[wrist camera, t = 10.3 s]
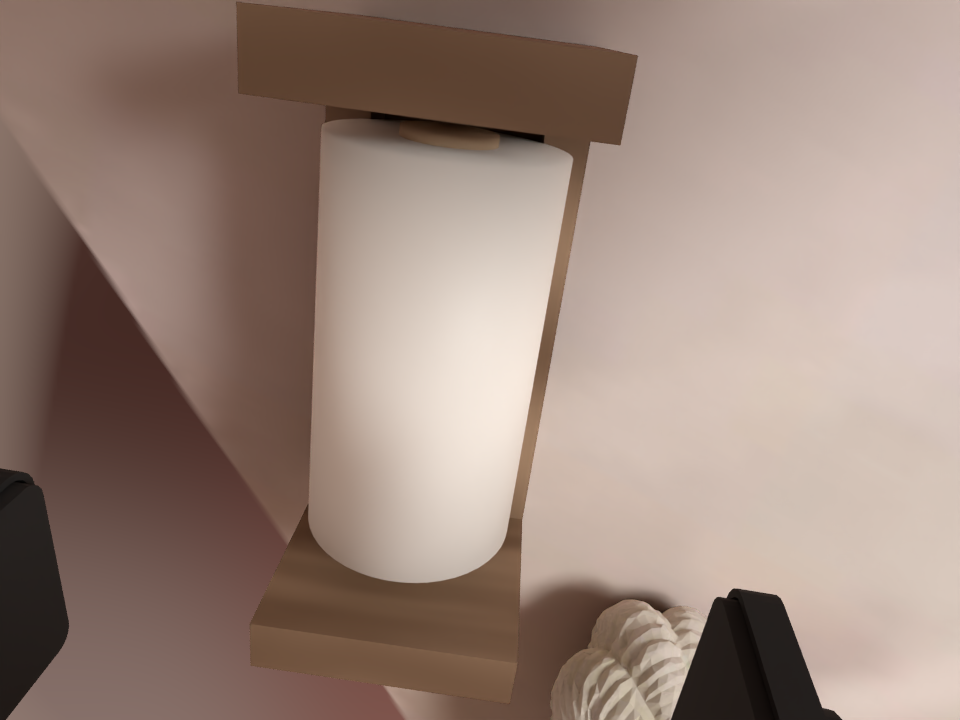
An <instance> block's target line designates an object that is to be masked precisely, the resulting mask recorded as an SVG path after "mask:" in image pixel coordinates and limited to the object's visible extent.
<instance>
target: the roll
mask: <svg viewBox="0 0 960 720" xmlns="http://www.w3.org/2000/svg"><path fill="white" fill-rule="evenodd" d="M572 163H573V157H572V156H571V155H570V154H569V153H567V152H565V151H563V150H561V149H559V148H556V147H553V146H550V145H547V144H543V143H541V142H537V141H533V140H529V139H525V138H521V137H517V136H512V135H507V134H502V133H497V132H492V131H488V130H484V129H480V128H475V127H470V126H465V125H458V124H451V123H443V122H432V121H406V120H391V119H342V120H334V121H330V122H326V123H324V124H323V125H322V126H321V150H320V179H319V209H318V239H317V268H316V298H315V328H314V358H313V387H312V417H311V447H310V476H309V506H308V521H309V526H310V530H311V532H312V534H313V537H314V538H315V540H316V541H317V543H318V544H319V545H320V547H321V548H322V549H323V550H324V551H325V552H326V553H327V554H328V555H330V556H331V557H332V558H333V559H335V560H336V561H338V562H339V563H341V564H342V565H344V566H346V567H348V568H350V569H352V570H354V571H356V572H359V573H362V574H364V575H367V576H370V577H374V578H378V579H382V580H387V581H394V582H403V583H428V582H436V581H443V580H447V579H451V578H456V577H459V576H461V575H464V574H467V573H469V572H471V571H473V570H475V569H477V568H479V567H481V566H482V565H483V564H485V563H486V562H488V561H489V560H490V559H491V558H492V557H493V556H494V555H495V554H496V553H497V552H498V550H499V549H500V548H501V546H502V544H503V542H504V540H505V537H506V533H507V529H508V523H509V517H510V512H511V506H512V500H513V495H514V489H515V484H516V478H517V472H518V467H519V461H520V456H521V450H522V444H523V439H524V433H525V427H526V422H527V416H528V411H529V405H530V399H531V394H532V388H533V383H534V377H535V371H536V366H537V360H538V354H539V349H540V343H541V338H542V332H543V326H544V321H545V315H546V310H547V304H548V298H549V293H550V287H551V281H552V276H553V270H554V265H555V259H556V253H557V248H558V242H559V237H560V231H561V225H562V220H563V214H564V208H565V203H566V197H567V192H568V186H569V180H570V175H571V169H572Z"/></svg>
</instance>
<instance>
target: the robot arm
mask: <svg viewBox="0 0 960 720" xmlns="http://www.w3.org/2000/svg"><path fill="white" fill-rule="evenodd" d="M68 629H69V621H68V616H67V611H66V606H65V601H64V596H63V591H62V586H61V581H60V576H59V571H58V565H57V560H56V555H55V550H54V546H53V540H52V535H51V531H50V525H49V520H48V515H47V510H46V506H45V500H44V495H43V492H42V489H41V488H40V487H39V486H36V485H35V484H34V481H33V479H32V477H31V476H30V475H29V474H27V473H24V472H19V471H12V470H6V469H0V720H6V719H7V717H8V716H9V715H10V714H11V712H12V711H13V710H14V709H15V707H16V706H17V705H18V703H19V702H20V701H21V700H22V698H23V697H24V696H25V694H26V693H27V692H28V690H29V689H30V688H31V687H32V686H33V684H34V683H35V682H36V680H37V679H38V678H39V676H40V675H41V674H42V673H43V671H44V670H45V669H46V668H47V666H48V665H49V664H50V663H51V661H52V660H53V659H54V657H55V656H56V655H57V654H58V652H59V651H60V649H61V648H62V646H63V644H64V642H65V640H66V637H67V634H68ZM671 720H842V719H841V718H840V717H839V716H838V715H837V714H836V713H835V712H834V711H832V710H829V709H824V708H822V706H821V704H820V701H819V698H818V695H817V693H816V690H815V687H814V685H813V682H812V679H811V677H810V674H809V671H808V669H807V666H806V663H805V660H804V658H803V655H802V652H801V650H800V647H799V644H798V642H797V639H796V636H795V634H794V631H793V628H792V626H791V623H790V620H789V617H788V615H787V612H786V609H785V607H784V604H783V602H782V600H781V598H779V597H778V596H777V595H773V594H766V593H760V592H754V591H748V590H742V589H732V590H731V591H730V592H729V594H728V596H727V598H722V597H717V598H716V599H715V600H714V602H713V604H712V607H711V610H710V613H709V615H708V618H707V621H706V624H705V626H704V629H703V632H702V635H701V638H700V640H699V643H698V646H697V649H696V651H695V654H694V657H693V660H692V662H691V665H690V668H689V671H688V673H687V676H686V679H685V682H684V685H683V687H682V690H681V693H680V696H679V698H678V701H677V704H676V707H675V709H674V712H673V715H672V718H671Z"/></svg>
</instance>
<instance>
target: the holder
mask: <svg viewBox="0 0 960 720" xmlns="http://www.w3.org/2000/svg"><path fill="white" fill-rule="evenodd" d="M236 6H237V52H238V93H239V94H246V95H253V96H261V97H268V98H275V99H283V100H290V101H298V102H305V103H312V104H320V105H326V120H325V123H326V122H330V121H334V120H342V119H391V120H406V121H432V122H443V123H451V124H458V125H465V126H470V127H475V128H480V129H484V130H488V131H492V132H497V133H502V134H507V135H512V136H517V137H521V138H525V139H529V140H533V141H537V142H541V143H543V144H547V145H550V146H553V147H556V148H559V149H561V150H563V151H565V152H567V153H569V154H570V155H571V156H572V157H573V163H572V169H571V175H570V180H569V186H568V192H567V197H566V203H565V208H564V214H563V220H562V225H561V231H560V237H559V242H558V248H557V253H556V259H555V265H554V270H553V276H552V281H551V287H550V293H549V298H548V304H547V310H546V315H545V321H544V326H543V332H542V338H541V343H540V349H539V354H538V360H537V366H536V371H535V377H534V383H533V388H532V394H531V399H530V405H529V411H528V416H527V422H526V427H525V433H524V439H523V444H522V450H521V456H520V461H519V467H518V472H517V478H516V484H515V489H514V495H513V500H512V506H511V512H510V517H509V523H508V529H507V533H506V537H505V540H504V542H503V544H502V546H501V548H500V549H499V550H498V552H497V553H496V554H495V555H494V556H493V557H492V558H491V559H490V560H489V561H488V562H486V563H485V564H483V565H482V566H481V567H479V568H477V569H475V570H473V571H471V572H469V573H467V574H464V575H461V576H459V577H456V578H451V579H447V580H443V581H436V582H428V583H403V582H394V581H387V580H382V579H378V578H374V577H370V576H367V575H364V574H362V573H359V572H356V571H354V570H352V569H350V568H348V567H346V566H344V565H342V564H341V563H339V562H338V561H336V560H335V559H333V558H332V557H331V556H330V555H328V554H327V553H326V552H325V551H324V550H323V549H322V548H321V547H320V545H319V544H318V543H317V541H316V540H315V538H314V537H313V534H312V532H311V530H310V526H309V521H308V506H309V503H308V505H307V508H306V510H305V512H304V514H303V516H302V518H301V520H300V522H299V524H298V526H297V528H296V530H295V532H294V534H293V536H292V538H291V540H290V542H289V544H288V547H287V549H286V551H285V553H284V555H283V557H282V559H281V561H280V563H279V565H278V567H277V569H276V571H275V573H274V575H273V578H272V579H271V581H270V583H269V586H268V588H267V590H266V592H265V594H264V596H263V598H262V600H261V602H260V604H259V606H258V608H257V610H256V612H255V614H254V616H253V619H252V620H251V623H250V657H251V658H250V659H251V666H257V667H264V668H270V669H277V670H284V671H290V672H297V673H304V674H311V675H318V676H324V677H331V678H337V679H344V680H352V681H358V682H365V683H372V684H378V685H385V686H391V687H398V688H405V689H411V690H418V691H425V692H432V693H438V694H445V695H452V696H459V697H465V698H472V699H479V700H485V701H492V702H499V703H506V704H510V700H511V695H512V690H513V685H514V680H515V675H516V669H517V664H518V637H519V605H520V573H521V541H522V518H523V512H524V507H525V501H526V495H527V490H528V484H529V479H530V473H531V468H532V462H533V457H534V451H535V446H536V440H537V434H538V429H539V423H540V418H541V412H542V407H543V401H544V396H545V390H546V385H547V379H548V373H549V368H550V362H551V357H552V351H553V346H554V340H555V335H556V329H557V324H558V318H559V312H560V307H561V301H562V296H563V290H564V285H565V279H566V274H567V268H568V263H569V257H570V251H571V246H572V240H573V235H574V229H575V224H576V218H577V213H578V207H579V202H580V196H581V190H582V185H583V179H584V174H585V168H586V163H587V157H588V152H589V146H590V141H592V142H599V143H607V144H614V145H620V144H621V139H622V134H623V129H624V124H625V119H626V114H627V109H628V104H629V99H630V94H631V89H632V84H633V78H634V73H635V68H636V63H637V58H638V56H637V55H632V54H628V53H623V52H619V51H614V50H609V49H605V48H600V47H594V46H587V45H579V44H572V43H565V42H557V41H550V40H542V39H535V38H527V37H520V36H512V35H505V34H497V33H490V32H482V31H475V30H467V29H460V28H452V27H445V26H437V25H430V24H423V23H415V22H408V21H400V20H393V19H385V18H378V17H370V16H363V15H355V14H346V13H336V12H327V11H317V10H308V9H298V8H289V7H279V6H270V5H260V4H251V3H242V2H236Z"/></svg>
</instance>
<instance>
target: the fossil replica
mask: <svg viewBox="0 0 960 720" xmlns="http://www.w3.org/2000/svg"><path fill="white" fill-rule="evenodd" d="M706 621H707V617H706V616H704V615H703V614H702V613H700V612H699V611H698V610H697V609H694V608H691V607H688V606H684V607H682V606H678V607H673V608H669V609H667V610H666V611H665V612H664V613H662V614H661V612H660V611H657V610H654V609H653V608H652V607H651V606H650V605H649V604H648V603H645V602H643V601H638V600H634V599H629V600H622V601H621V602H619V603H617V604H615V605H614V606H611V607H609V608H607V609H606V610H604V611H603V612H602V614H601V615H600V616H599V618H598V619H597V620H596V625H595V626H594V628H593V629H592V636H591V642H590V643H589V645H588V649H583V650H581V651H579V652H578V653H576V654H575V655H573V656H572V657H571V658H570V659H569V660H568V661H567V662H566V664H564V665H563V666H562V667H561V670H560V672H559V675H558V677H557V679H556V680H555V683H554V685H553V688H552V691H551V698H552V699H551V700H550V708H551V710H552V715H551V718H550V720H671V718H672V715H673V712H674V709H675V707H676V704H677V701H678V698H679V696H680V693H681V690H682V687H683V685H684V682H685V679H686V676H687V673H688V671H689V668H690V665H691V662H692V660H693V657H694V654H695V651H696V649H697V646H698V643H699V640H700V638H701V635H702V632H703V629H704V626H705V624H706Z"/></svg>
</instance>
